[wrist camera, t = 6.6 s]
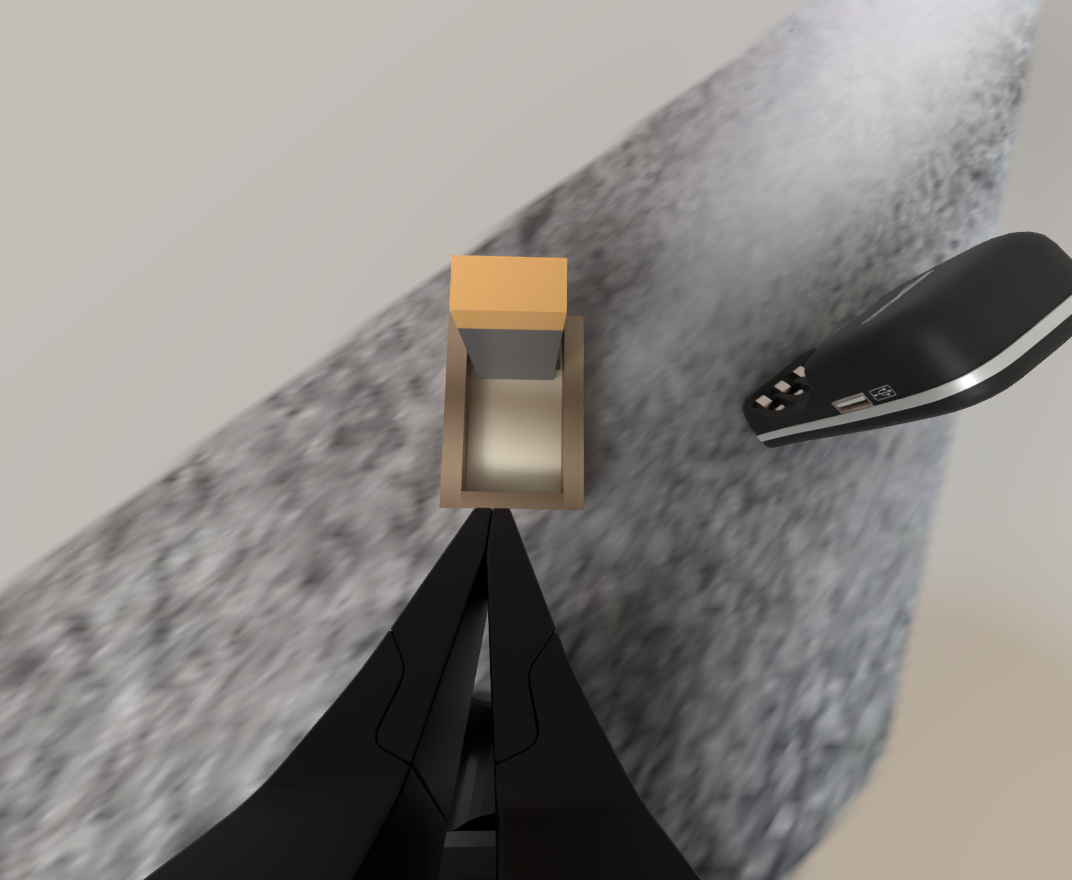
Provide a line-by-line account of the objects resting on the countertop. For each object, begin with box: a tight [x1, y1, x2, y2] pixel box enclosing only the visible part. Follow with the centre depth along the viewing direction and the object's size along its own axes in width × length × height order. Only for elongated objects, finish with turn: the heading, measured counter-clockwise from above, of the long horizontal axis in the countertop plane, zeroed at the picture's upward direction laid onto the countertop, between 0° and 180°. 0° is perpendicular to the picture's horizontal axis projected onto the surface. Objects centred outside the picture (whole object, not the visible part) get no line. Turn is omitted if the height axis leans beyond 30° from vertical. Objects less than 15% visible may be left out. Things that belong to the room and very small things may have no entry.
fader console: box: [440, 312, 584, 510], centre depth 21 cm, size 10×7×3 cm
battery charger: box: [743, 232, 1072, 448], centre depth 18 cm, size 7×4×11 cm, turn 127°
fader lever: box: [449, 255, 567, 380], centre depth 17 cm, size 2×4×8 cm, turn 89°
